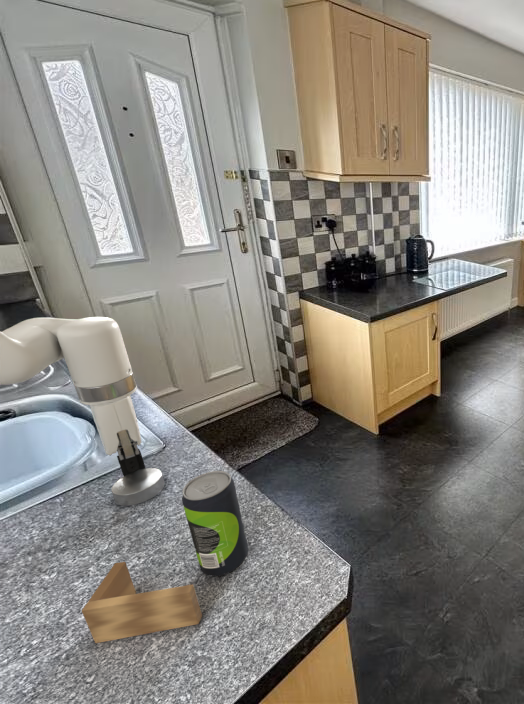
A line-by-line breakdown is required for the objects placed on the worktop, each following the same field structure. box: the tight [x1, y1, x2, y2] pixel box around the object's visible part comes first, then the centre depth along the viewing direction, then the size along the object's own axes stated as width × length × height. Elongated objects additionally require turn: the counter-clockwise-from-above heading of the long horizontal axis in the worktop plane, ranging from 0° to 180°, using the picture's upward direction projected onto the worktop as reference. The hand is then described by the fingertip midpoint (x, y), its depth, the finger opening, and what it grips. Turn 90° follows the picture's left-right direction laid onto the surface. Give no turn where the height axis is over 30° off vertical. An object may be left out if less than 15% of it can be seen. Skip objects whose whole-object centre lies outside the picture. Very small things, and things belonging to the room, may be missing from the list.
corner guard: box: [81, 561, 203, 644], centre depth 57 cm, size 12×7×6 cm, turn 104°
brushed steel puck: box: [111, 467, 166, 507], centre depth 77 cm, size 7×7×2 cm
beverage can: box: [181, 470, 249, 577], centre depth 63 cm, size 6×6×15 cm
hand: (134, 471), depth 80 cm, fingers closed
